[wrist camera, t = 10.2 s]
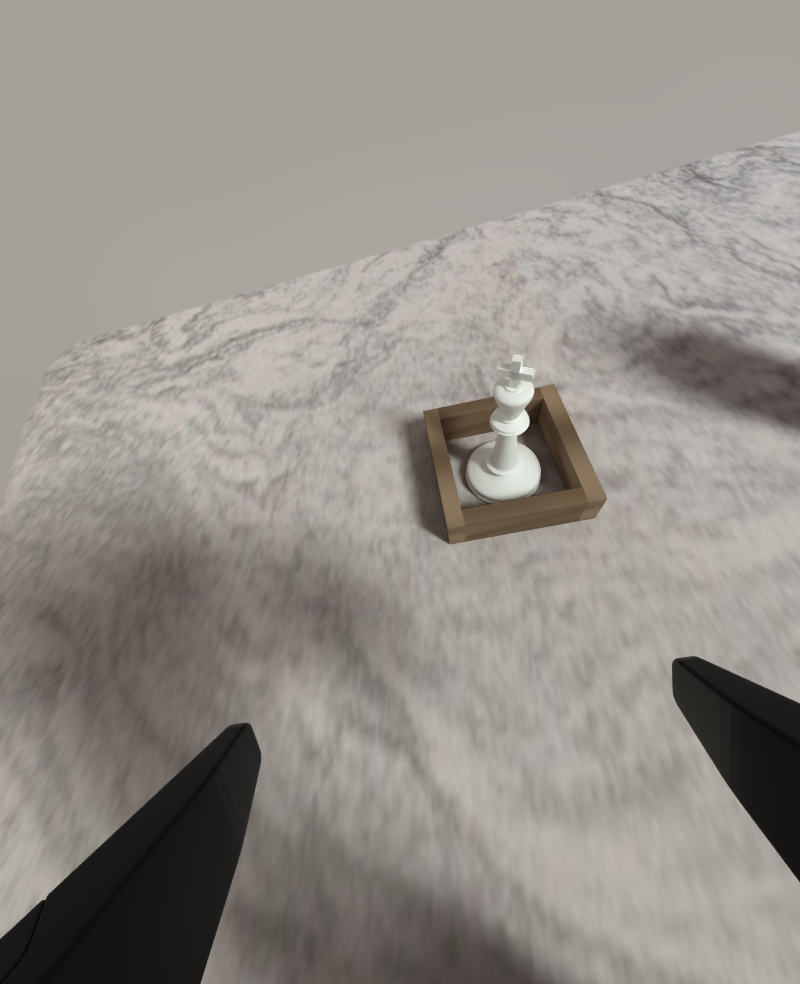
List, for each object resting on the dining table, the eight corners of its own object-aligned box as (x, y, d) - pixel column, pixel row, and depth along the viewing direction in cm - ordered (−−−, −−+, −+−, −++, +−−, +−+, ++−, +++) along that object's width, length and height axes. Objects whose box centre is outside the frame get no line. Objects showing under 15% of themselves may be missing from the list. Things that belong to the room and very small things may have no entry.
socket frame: (594, 518, 24) (607, 498, 22) (449, 544, 24) (447, 528, 22) (547, 409, 28) (553, 384, 26) (426, 433, 29) (423, 411, 27)
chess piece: (479, 437, 28) (483, 315, 19) (549, 455, 26) (587, 331, 18) (455, 492, 26) (447, 385, 18) (528, 516, 24) (559, 410, 16)
